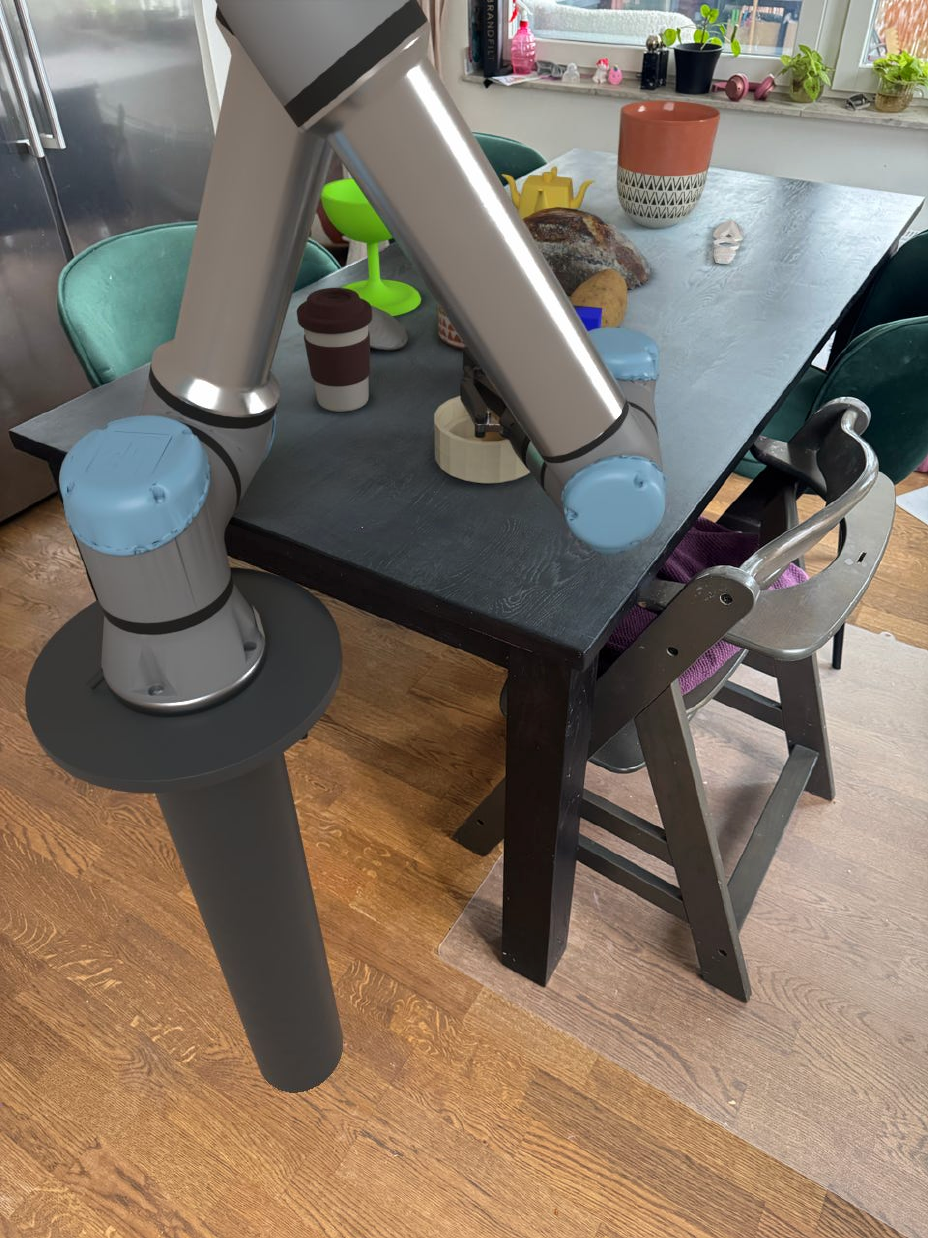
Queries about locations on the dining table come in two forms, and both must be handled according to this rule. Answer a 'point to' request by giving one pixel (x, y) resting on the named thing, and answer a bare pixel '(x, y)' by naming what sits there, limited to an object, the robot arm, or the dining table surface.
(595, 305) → the potato
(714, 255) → the white lumpy piece
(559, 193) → the teapot
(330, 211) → the wineglass
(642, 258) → the bread
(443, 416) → the bowl
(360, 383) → the coffee cup
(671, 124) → the planter
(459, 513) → the dining table surface
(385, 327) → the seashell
